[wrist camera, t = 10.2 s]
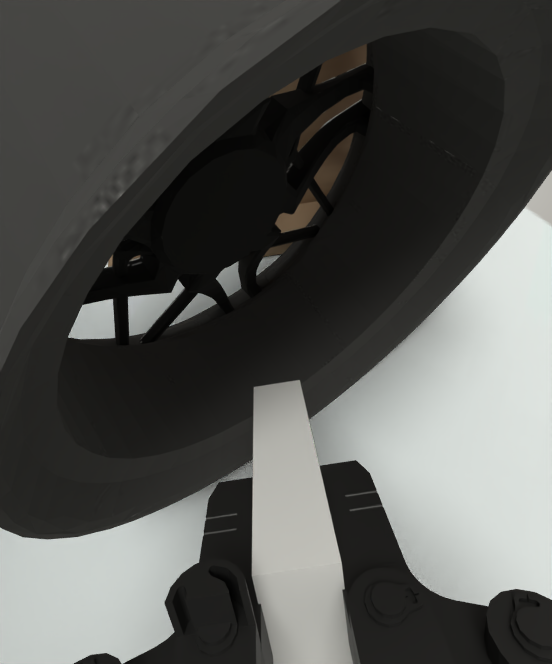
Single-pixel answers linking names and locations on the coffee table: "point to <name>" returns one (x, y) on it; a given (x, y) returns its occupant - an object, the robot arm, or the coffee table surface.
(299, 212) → the stop board
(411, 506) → the coffee table surface
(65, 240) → the wheel rim
